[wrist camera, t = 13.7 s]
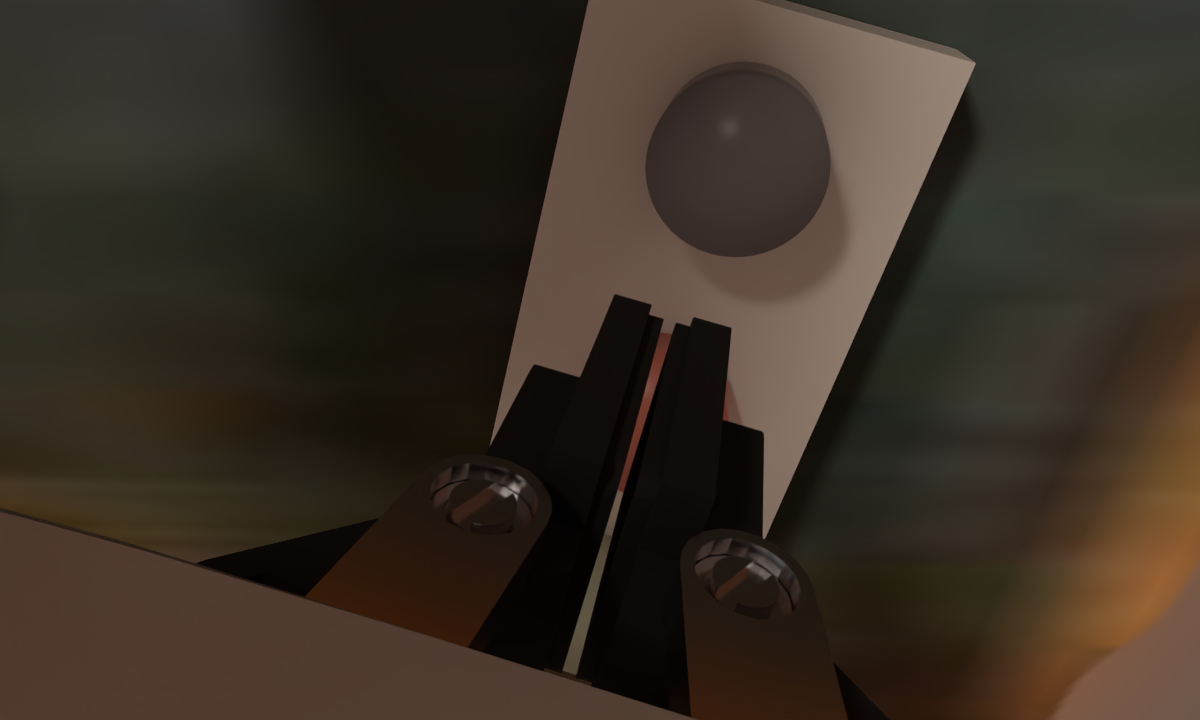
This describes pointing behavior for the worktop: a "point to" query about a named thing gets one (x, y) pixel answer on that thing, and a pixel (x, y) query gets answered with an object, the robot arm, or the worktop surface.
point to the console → (717, 283)
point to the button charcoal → (738, 160)
